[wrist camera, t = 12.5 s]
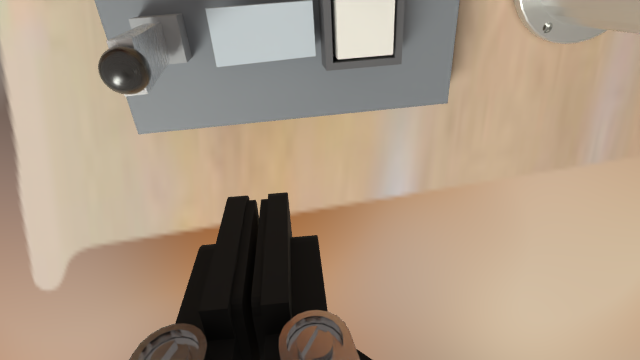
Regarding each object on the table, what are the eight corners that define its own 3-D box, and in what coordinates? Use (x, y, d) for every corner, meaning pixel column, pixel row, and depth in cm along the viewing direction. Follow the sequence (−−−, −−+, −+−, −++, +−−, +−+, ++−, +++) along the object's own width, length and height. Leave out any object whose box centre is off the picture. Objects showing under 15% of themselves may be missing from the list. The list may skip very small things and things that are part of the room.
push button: (384, -9, 26) (395, -9, 24) (383, 49, 28) (392, 54, 25) (330, -5, 25) (335, -5, 23) (332, 53, 27) (337, 59, 25)
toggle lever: (168, 21, 23) (136, 41, 14) (178, 59, 24) (154, 101, 15) (135, 24, 23) (81, 46, 14) (147, 62, 24) (104, 107, 15)
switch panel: (451, -91, 27) (491, -107, 22) (433, 94, 34) (461, 112, 29) (89, -72, 24) (46, -86, 20) (149, 121, 31) (128, 146, 26)
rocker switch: (308, -1, 25) (312, 0, 24) (312, 53, 26) (315, 56, 26) (205, 8, 23) (205, 8, 22) (216, 64, 25) (216, 67, 24)
